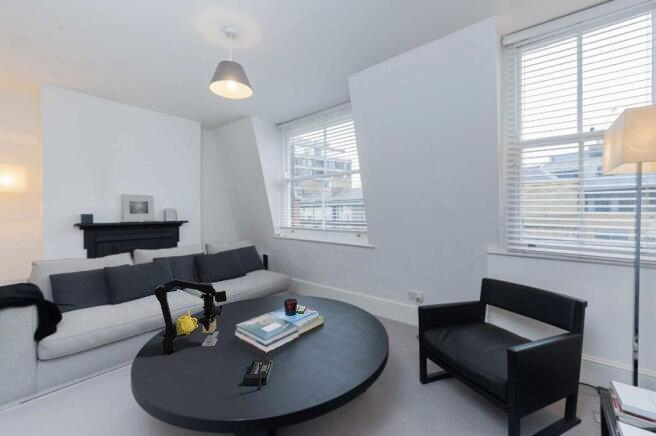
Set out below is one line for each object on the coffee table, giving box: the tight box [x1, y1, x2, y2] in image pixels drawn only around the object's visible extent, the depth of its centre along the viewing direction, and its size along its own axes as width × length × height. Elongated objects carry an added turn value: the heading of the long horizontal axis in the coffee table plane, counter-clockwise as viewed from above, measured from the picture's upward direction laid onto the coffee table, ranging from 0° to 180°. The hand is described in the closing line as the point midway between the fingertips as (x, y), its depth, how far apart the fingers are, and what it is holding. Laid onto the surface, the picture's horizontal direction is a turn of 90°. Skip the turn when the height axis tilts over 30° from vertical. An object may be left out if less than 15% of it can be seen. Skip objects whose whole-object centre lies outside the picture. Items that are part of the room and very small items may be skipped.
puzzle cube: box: [296, 305, 307, 314], centre depth 206 cm, size 10×10×10 cm
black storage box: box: [244, 354, 274, 391], centre depth 140 cm, size 20×14×17 cm
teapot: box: [175, 310, 199, 337], centre depth 191 cm, size 20×15×12 cm
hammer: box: [201, 331, 219, 347], centre depth 181 cm, size 17×7×4 cm, turn 4°
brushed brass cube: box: [202, 318, 217, 334], centre depth 175 cm, size 6×6×6 cm
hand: (209, 328), depth 175 cm, fingers closed on brushed brass cube, 6 cm apart
